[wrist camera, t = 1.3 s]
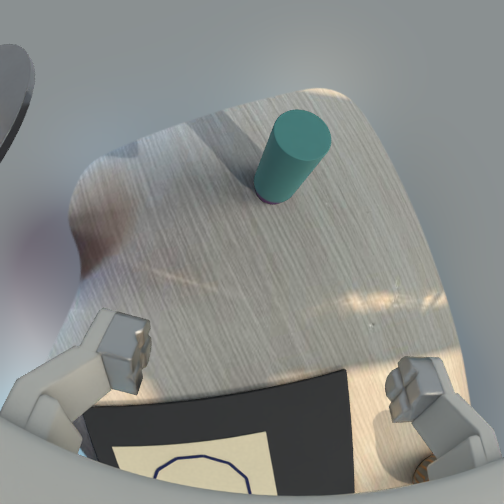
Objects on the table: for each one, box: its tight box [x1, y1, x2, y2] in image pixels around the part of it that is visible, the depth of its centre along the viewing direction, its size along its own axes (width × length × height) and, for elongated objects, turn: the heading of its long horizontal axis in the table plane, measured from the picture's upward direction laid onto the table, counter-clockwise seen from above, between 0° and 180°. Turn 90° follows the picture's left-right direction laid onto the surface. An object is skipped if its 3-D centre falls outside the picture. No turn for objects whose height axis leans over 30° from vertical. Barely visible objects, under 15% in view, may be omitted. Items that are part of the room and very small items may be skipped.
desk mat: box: [83, 369, 355, 496], centre depth 23 cm, size 24×20×1 cm
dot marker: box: [254, 110, 331, 204], centre depth 22 cm, size 4×4×10 cm
